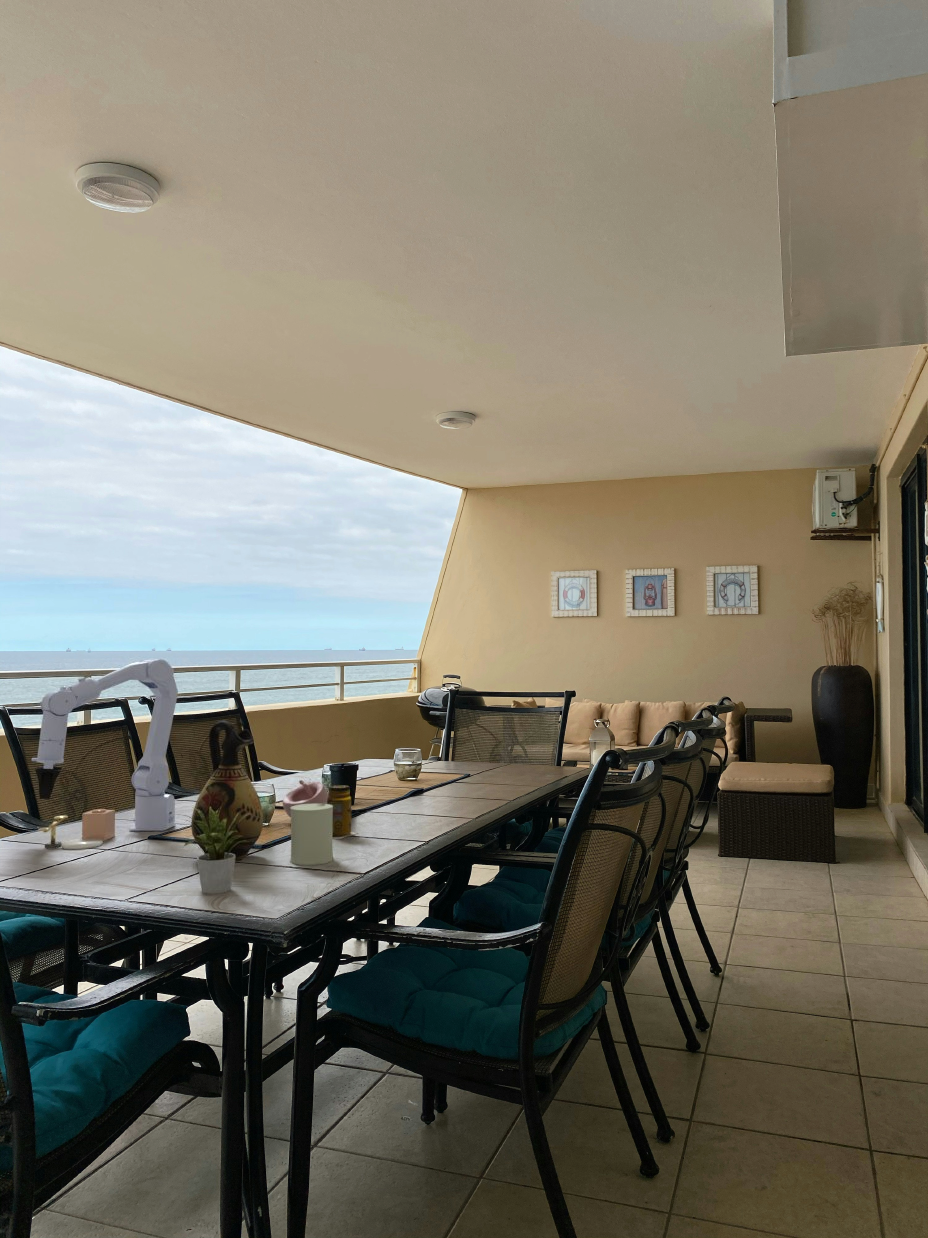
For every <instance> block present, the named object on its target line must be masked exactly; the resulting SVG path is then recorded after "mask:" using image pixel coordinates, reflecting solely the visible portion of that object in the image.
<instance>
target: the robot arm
mask: <svg viewBox="0 0 928 1238" xmlns="http://www.w3.org/2000/svg"><path fill="white" fill-rule="evenodd" d="M174 672H175V669H174V668H173V667H172V666H171V664H169V662H168V661H166V660H164V659H159V658H158V659H142V660H139V661H137V662H132V663H130V664H127V665H125V666H123V667H120V668H118V669H116V670H114V671H111V672H109V673H108V674H105V675H102V676H101V677H98V678H97V679H94V678H92V677H86V676H85V677H84V676H82V677H80V678H78V679H77V680H78V681H77V682H74V683H72V684H70V685H66V686H65V685H62V686H60V687H59V689H60V690H57V691H55V690H53V691H50V692H47V693H46V694H45V695H44V696H43V697H42V700H41V701H40V703H39V705H40V708H41V710H42V719H41V726H40V732H39V733H40V734H39V743H38V750H37V757H32V758H31V762H37V763H40V764H43V766H36V767H35V769H34V771H35V773H36V776H37V781H38V796H39V799H40V800H50V798H51V797H52V794H53V791H54V788H55V783H56V780H57V779H58V777H59V775H60V773H61V772H62V769H63V766H57V765H56V764H63V763H64V761H65V759H64V754H65V749H66V748H65V746H66V739H67V738H66V737H67V732H68V731H67V729H68V722H69V721H68V719H69V714H70V713H71V712H72V711H73V709H76V708H79V707H81V706H83V705H85V704H88V703H89V702H92V701H94V700H96V699H99V697H100V695H101V693H102V692H103V691H106V690H108V689H110V688H113V687H115V686H118V685H120V684H123V683H126V682H128V681H138V682H139V683H140V684H142V685H143V686H145V687H147V688H148V689H149V691H150V692H151V693H152V694H153V695H154V697H155V699H154V705H153V707H152V708H153V709H152V713H151V718H150V723H149V728H148V733H147V738H146V743H145V746H144V747H145V748H144V752H143V756H142V757H141V759H139V760H138V762H137V766H136V767H137V768H136V769H135V771H134V772H133V773H132V774H131V775H132V776H131V785H132V786H133V788H134V790H135V789H136V793H135V792H134V794H135V795H134V797H135V799H134V826H132V827H130V828H128V831H130V832H131V831H136V832H137V831H140V832H141V831H143V832H144V831H145V832H146V831H151V832H153V831H155V832H156V831H158V832H159V831H167V830H168V829H170V828H172V827H175V826H176V822H175V821H176V819H175V818H176V817H175V816H176V815H174V814H176V812H175V810H176V808H175V805H176V802H175V796H174V795H173V794H170V793H169V794H168V793H165V792H166V791H165V790H167V789H168V786H169V784H170V779H169V773H168V770H169V765H168V763H167V760H166V755H167V749H168V745H169V739H170V735H171V730H172V724H173V720H174V719H173V718H174V715H175V708H176V704H177V700H178V694H179V693H178V687H177V684H176V680H175V676H174V674H175V673H174Z"/></svg>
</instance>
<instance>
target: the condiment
mask: <svg viewBox="0 0 928 1238" xmlns="http://www.w3.org/2000/svg"><path fill="white" fill-rule="evenodd" d="M350 789H351V788H350V786H349V785H345V784H344V785H343V784H337V785H335V784H334V785H330V786H329V787H328V789H327V790H328V792H327V795H328V798H327V804H330V805H332V806H333V818H332V839H335V840H338V839H339V840H341V839H344V838H347V837H350V836H353V835H357V834H358V832H356V831H355V832H354V831H352V797H351V795H350V794H351V793H350V792H351V791H350Z"/></svg>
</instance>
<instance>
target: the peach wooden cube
mask: <svg viewBox="0 0 928 1238" xmlns="http://www.w3.org/2000/svg"><path fill="white" fill-rule="evenodd" d="M81 816H82V817H81V818H82V823H81V824H82V825H81V835H82V836H81V839H85V838H96V839H102V840H103V842H104V841H105V842H106V841H107V840H109V839H112V838H113V837H116V835H115V833H116V809H105V808H98V809H97V808H96V809H92V810H89V811H86V812H83V813H82V815H81Z"/></svg>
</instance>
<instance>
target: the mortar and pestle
mask: <svg viewBox="0 0 928 1238" xmlns="http://www.w3.org/2000/svg"><path fill="white" fill-rule="evenodd" d="M298 783H299V784H300V785H298V786H295V788H293V789H291V790H289V791H288V792H287V793H286V794H285V795H284V797H283V799H282V806H283V810H284V811H285V813H286V815H287V816H288V817H289V818H290V819H291V809H290V808H291V807H292V806H295V805H300V804H314V803H319V804H327V798H328V796H329V795H328V791H327V789H326V788H325V785H324V784H323V783H322V782H320V781H308V782H304V781H303V780H302V779H300V780H298Z"/></svg>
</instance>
